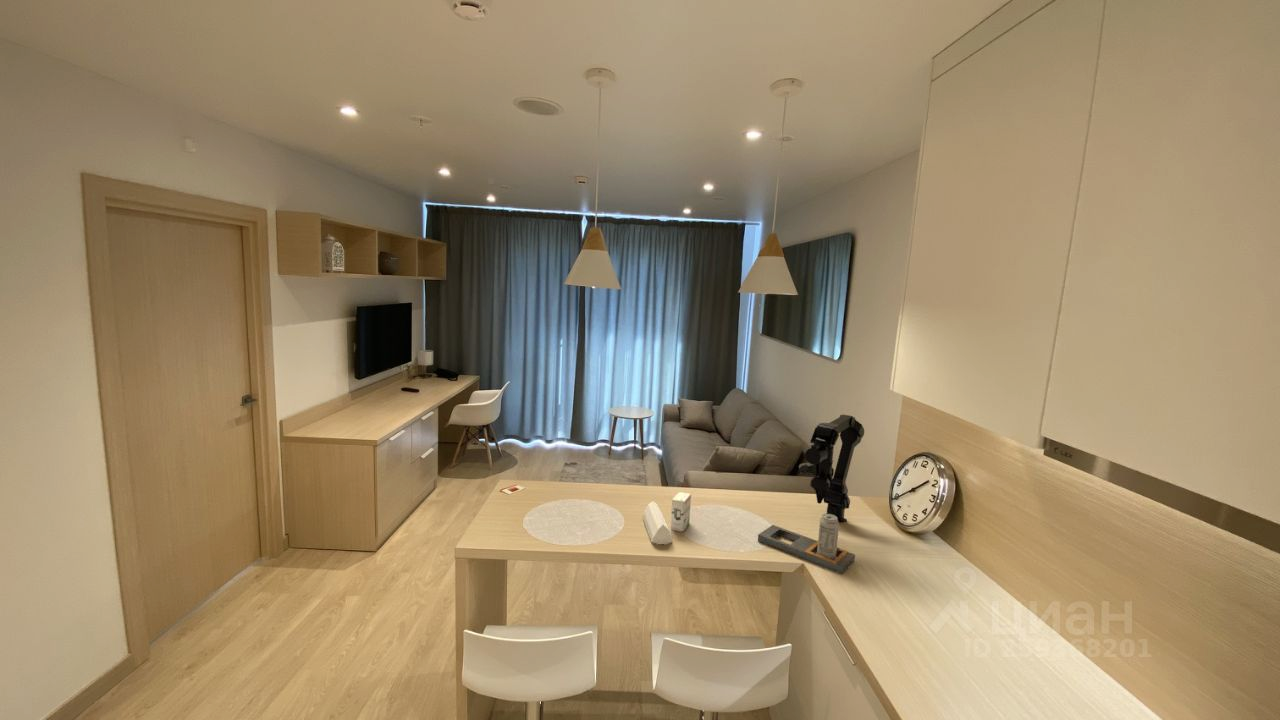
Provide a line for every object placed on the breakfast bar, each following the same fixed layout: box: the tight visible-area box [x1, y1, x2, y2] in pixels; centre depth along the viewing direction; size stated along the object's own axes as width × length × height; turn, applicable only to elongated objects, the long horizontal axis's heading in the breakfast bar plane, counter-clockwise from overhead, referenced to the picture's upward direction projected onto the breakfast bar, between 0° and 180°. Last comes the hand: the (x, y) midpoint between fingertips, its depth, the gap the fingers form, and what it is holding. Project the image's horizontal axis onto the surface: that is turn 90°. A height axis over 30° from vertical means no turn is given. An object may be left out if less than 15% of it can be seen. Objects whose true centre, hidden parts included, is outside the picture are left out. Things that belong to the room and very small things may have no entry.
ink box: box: [670, 491, 692, 532], centre depth 191 cm, size 9×5×12 cm, turn 157°
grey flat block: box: [757, 524, 856, 575], centre depth 176 cm, size 30×11×3 cm, turn 48°
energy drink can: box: [816, 513, 840, 560], centre depth 170 cm, size 6×6×15 cm
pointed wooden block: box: [642, 501, 673, 545], centre depth 187 cm, size 7×7×24 cm
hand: (820, 498), depth 189 cm, fingers open, 9 cm apart
